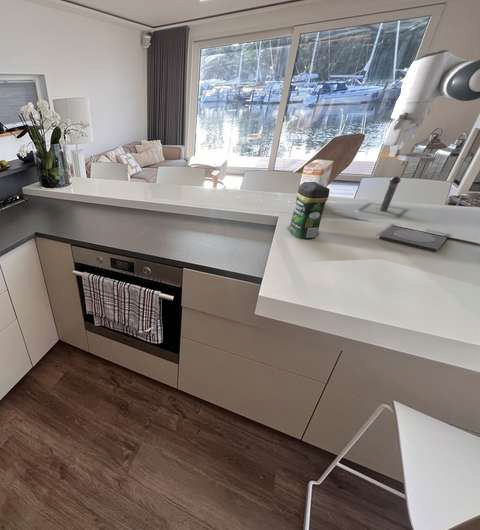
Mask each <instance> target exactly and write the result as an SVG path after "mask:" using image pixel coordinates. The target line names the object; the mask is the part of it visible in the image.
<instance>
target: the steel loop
mask: <svg viewBox="0 0 480 530" xmlns="http://www.w3.org/2000/svg"><path fill="white" fill-rule="evenodd" d="M389 153H390V152H382V151H381V152H379V153H378V157H379V158H386V159H387V158H389V159H397V160H400V161H403V162H410V163H433V162H436V161H438V159H439V157H440V155H439V154H435V153H430V152H417V151H416V152H414V151H413V152H400V153H397V155H396V156H394V157H391V156H389Z"/></svg>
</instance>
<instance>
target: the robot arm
mask: <svg viewBox="0 0 480 530" xmlns="http://www.w3.org/2000/svg"><path fill="white" fill-rule="evenodd" d="M400 90H401V91H400V95H399V97H398V99H397V100H396V102H395V105H394V108H393V110H392V113H391V116H390V119H394V120H393V121H391V123H390V125H389V127H388V128H387V132H386V134H385V137H384V139H383V142H382V143H383V146H390V147H389V152H388V153H389V156H391V157H394V156H396V155H397V153H400V154H401V150H402V149H403V148H404V146H405V144H406V142H407V141H410V140H412V139H414V138H415V137H416V136H417V134H418V132H419V131H420V130H421V127H422V124H423V123H424V121H425V118H427V116H429V114H430V111H431V107H432V104H433V101H434V99H435V98H436V97H440V98H444V99H453V100H456V101H461V102H470V101H475V100H478V99H480V59H476V60H475V59H474V60H468V59H465V58H461V57H459V56H457V55H456V54H454V53H451V51H450V50H449V49H444V50H443V49H442V50H438V51H434V52H430V53H426V54H423V55H420V56H418V57H417V58H416V59H415V60H413V61H412V63H411V65H410V66H409V68H408V70H407V72H406V75H405V77H404V80H403V82H402V85H401V89H400Z"/></svg>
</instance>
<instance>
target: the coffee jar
mask: <svg viewBox="0 0 480 530" xmlns="http://www.w3.org/2000/svg"><path fill="white" fill-rule="evenodd" d="M329 197H330V188H328V186H327V187H325V186H323V185H320V184H318V183H316V182H304V183H302V184H301V185H300V184H299V186H298V189H297V192H296V200H295V205H294V208H293V212H292V215H291V219H290V223H289V226H288V231H289V232H290V233H291V235H293V236H294V237H296V238H298V239H305V240H310V239H311V240H312V239H315V238H316V237H318V233H319V230H320V226H321V221H322V218H323V213H324V209H325V205H326V203H327V201H328V199H329Z"/></svg>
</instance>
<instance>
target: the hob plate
mask: <svg viewBox="0 0 480 530" xmlns="http://www.w3.org/2000/svg"><path fill="white" fill-rule="evenodd" d="M448 238H449V236H447V235H443V234H437V233H432V232H428V231H423V230H417V229H413V228H408V227H403V226H398V225H391V226H390V227H389V228H388V229H386V231H384V232H383V233H382V234H380V236H379V240H383V241H388V242H390V243H391V242H392V243H395V244H399V245H404V246H408V247H412V248H417V249H420V250H425V251H429V252H433V253H437V251H438V250H440V248H441V247H442V245H443V244H444V243H445V242H446V240H447V239H448Z"/></svg>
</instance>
